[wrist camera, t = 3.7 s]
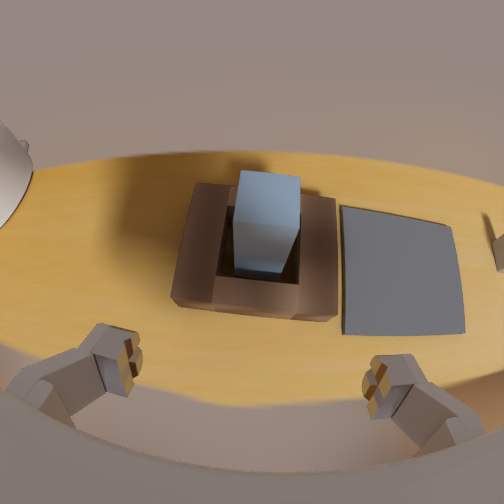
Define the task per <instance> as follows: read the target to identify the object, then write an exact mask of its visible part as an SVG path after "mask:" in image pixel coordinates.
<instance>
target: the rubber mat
mask: <svg viewBox="0 0 504 504" xmlns="http://www.w3.org/2000/svg"><path fill="white" fill-rule="evenodd" d="M341 227H342V249H343V335H364V336H423V335H450V334H463V333H466V332H465V315H464V303H463V294H462V286H461V278H460V271H459V265H458V259H457V254H456V248H455V243H454V238H453V234H452V229H451V227H449V226H444V225H440V224H435V223H430V222H426V221H421V220H416V219H411V218H406V217H401V216H395V215H390V214H385V213H379V212H373V211H368V210H362V209H356V208H349V207H343V206H342V208H341Z"/></svg>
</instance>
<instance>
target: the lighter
mask: <svg viewBox="0 0 504 504" xmlns="http://www.w3.org/2000/svg"><path fill="white" fill-rule="evenodd" d="M492 248H493V252H494V257H495V262H496V267H497V271H498V272H499V273H504V234H503V235H502V236H500V237H499V238H498V239H496V240H495V241H494V242H492Z"/></svg>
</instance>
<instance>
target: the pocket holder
mask: <svg viewBox="0 0 504 504" xmlns="http://www.w3.org/2000/svg"><path fill="white" fill-rule="evenodd" d="M237 192H238V186H230V185H219V184H207V183H196V185H195V189H194V193H193V196H192V200H191V204H190V208H189V212H188V216H187V221H186V225H185V229H184V233H183V238H182V242H181V247H180V251H179V256H178V261H177V265H176V270H175V275H174V280H173V285H172V291H171V296H170V297H171V298H172V299H173V300H174V302H175V303H176V304H177V305H178V306H180V307H186V308H193V309H201V310H208V311H216V312H223V313H232V314H240V315H249V316H259V317H269V318H279V319H291V320H303V321H317V322H327V321H329V320H330V319H332V318H333V317H335V316H337V315H338V243H337V219H336V202H335V198H328V197H322V196H315V195H308V194H300V227H299V231H298V233H297V236H296V238H295V241H294V262H293V282H292V284H286V283H277V282H267V281H258V280H249V279H240V278H231V277H222V276H220V274H221V267H222V261H223V254H224V248H225V241H226V235H227V229H228V223H229V224H233V217H234V211H235V204H236V198H237Z"/></svg>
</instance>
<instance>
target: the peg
mask: <svg viewBox="0 0 504 504" xmlns="http://www.w3.org/2000/svg"><path fill="white" fill-rule="evenodd" d="M299 227H300V177H297V176H290V175H282V174H274V173H265V172H256V171H247V170H241V174H240V180H239V186H238V192H237V198H236V204H235V211H234V217H233V238H234V266H235V276H242V277H251V278H260V279H270V280H279V277H280V275H281V272H282V270H283V268H284V265H285V263H286V260H287V258H288V255H289V253H290V251H291V248H292V246H293V243H294V241H295V238H296V236H297V233H298V231H299Z"/></svg>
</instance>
